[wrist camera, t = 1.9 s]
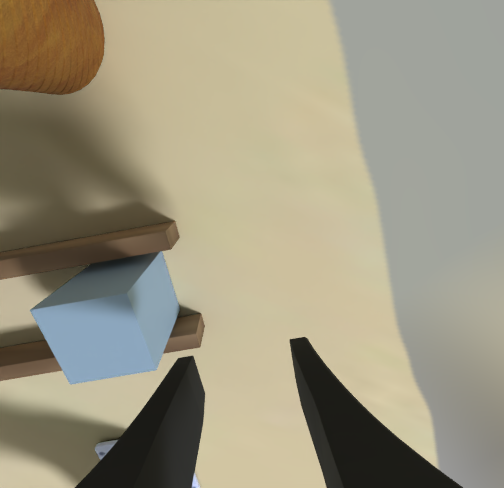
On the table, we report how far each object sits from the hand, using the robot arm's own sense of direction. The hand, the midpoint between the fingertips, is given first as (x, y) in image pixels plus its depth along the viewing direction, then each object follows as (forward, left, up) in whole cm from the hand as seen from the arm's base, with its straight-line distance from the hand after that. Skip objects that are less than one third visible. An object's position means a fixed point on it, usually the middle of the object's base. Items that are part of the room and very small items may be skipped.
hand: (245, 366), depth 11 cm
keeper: (0, +8, -9) cm, 12 cm away
